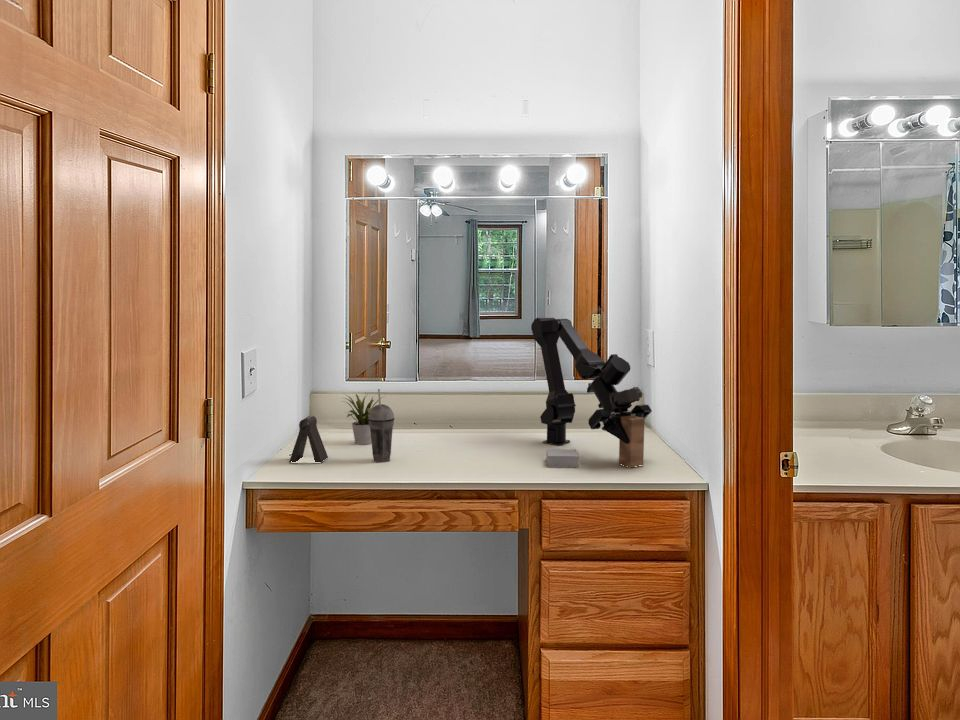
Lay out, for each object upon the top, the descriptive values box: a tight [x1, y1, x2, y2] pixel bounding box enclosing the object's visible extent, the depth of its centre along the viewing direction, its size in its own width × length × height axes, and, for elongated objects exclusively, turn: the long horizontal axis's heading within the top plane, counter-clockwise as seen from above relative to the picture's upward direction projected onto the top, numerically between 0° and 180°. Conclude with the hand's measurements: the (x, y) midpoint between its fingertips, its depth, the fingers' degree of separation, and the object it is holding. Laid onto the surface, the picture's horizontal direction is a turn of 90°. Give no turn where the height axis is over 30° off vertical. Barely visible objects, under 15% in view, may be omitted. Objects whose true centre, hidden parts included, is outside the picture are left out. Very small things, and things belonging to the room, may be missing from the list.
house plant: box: [341, 391, 386, 446], centre depth 208 cm, size 14×14×16 cm
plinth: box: [545, 448, 580, 468], centre depth 183 cm, size 8×8×3 cm
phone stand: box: [288, 415, 329, 463], centre depth 186 cm, size 9×6×12 cm, turn 86°
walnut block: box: [618, 415, 645, 468], centre depth 181 cm, size 4×4×13 cm
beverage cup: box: [368, 388, 396, 463], centre depth 186 cm, size 7×7×20 cm
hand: (635, 442), depth 180 cm, fingers closed on walnut block, 4 cm apart
